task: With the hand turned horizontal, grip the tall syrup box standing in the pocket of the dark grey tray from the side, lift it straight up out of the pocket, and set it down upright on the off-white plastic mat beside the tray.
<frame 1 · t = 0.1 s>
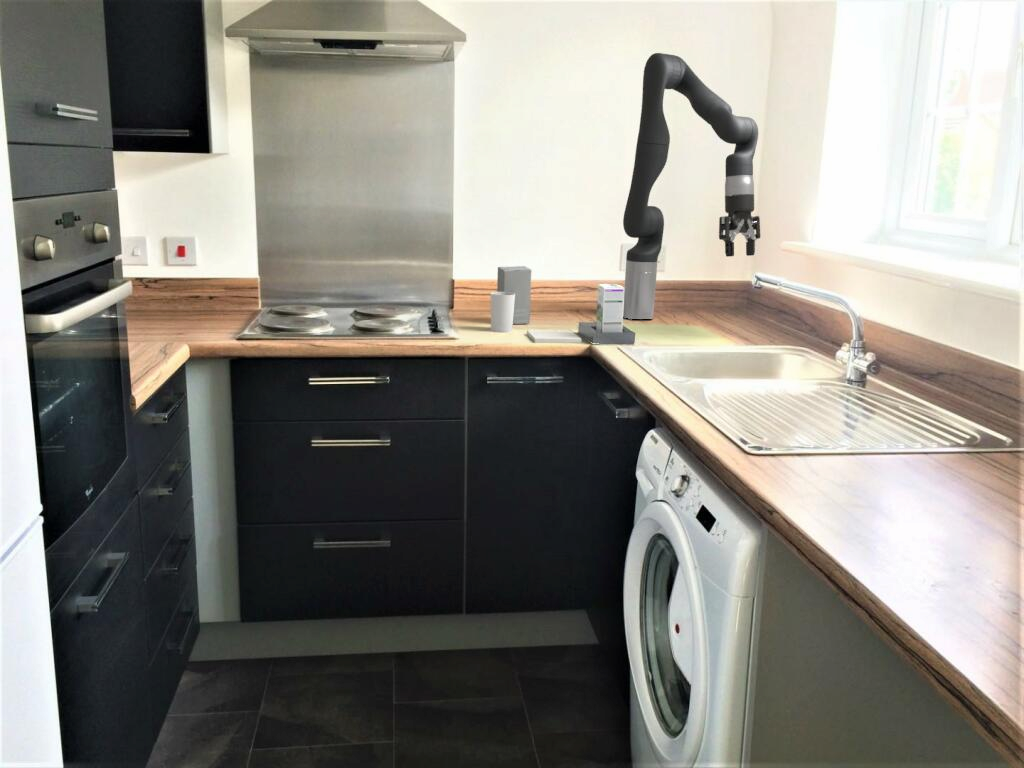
hand: (740, 255, 249), 22 cm above the worktop, tool pointing down, fingers open, 8 cm apart
syrup box: (608, 341, 243), resting in dark grey tray
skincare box: (512, 323, 264), on the worktop
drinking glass: (501, 331, 252), on the worktop
off-white mat: (553, 338, 244), on the worktop
dark grey tray: (605, 338, 246), on the worktop
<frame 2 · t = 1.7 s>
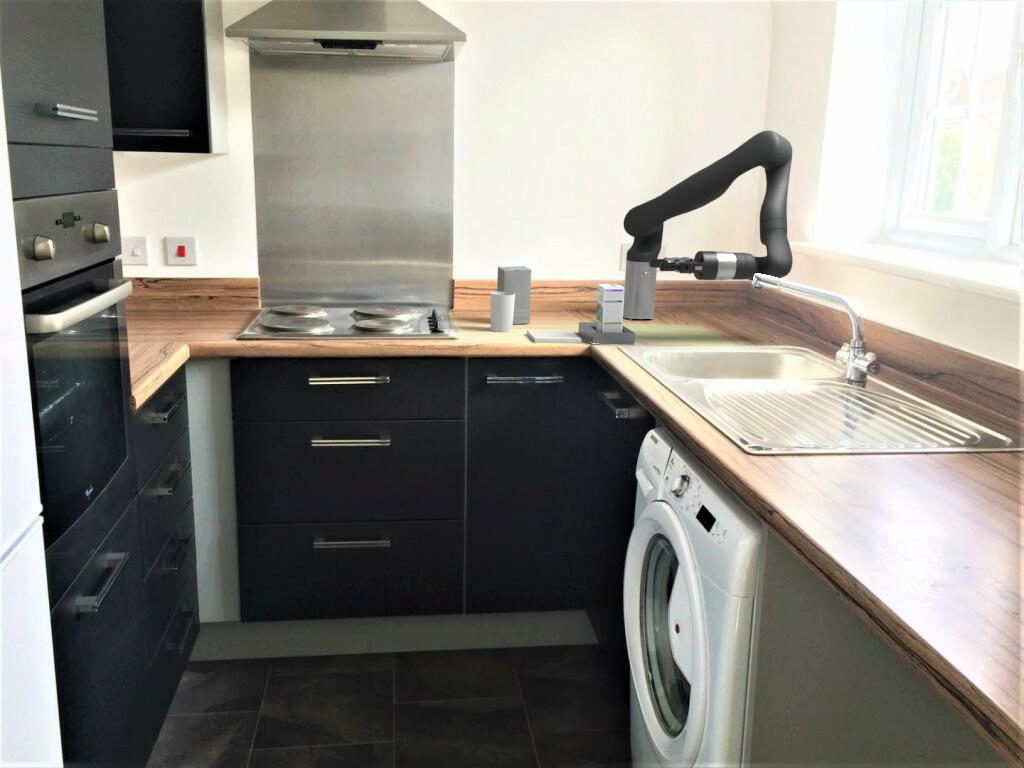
hand: (654, 264, 241), 20 cm above the worktop, tool horizontal, fingers open, 8 cm apart
nothing on the worktop moved.
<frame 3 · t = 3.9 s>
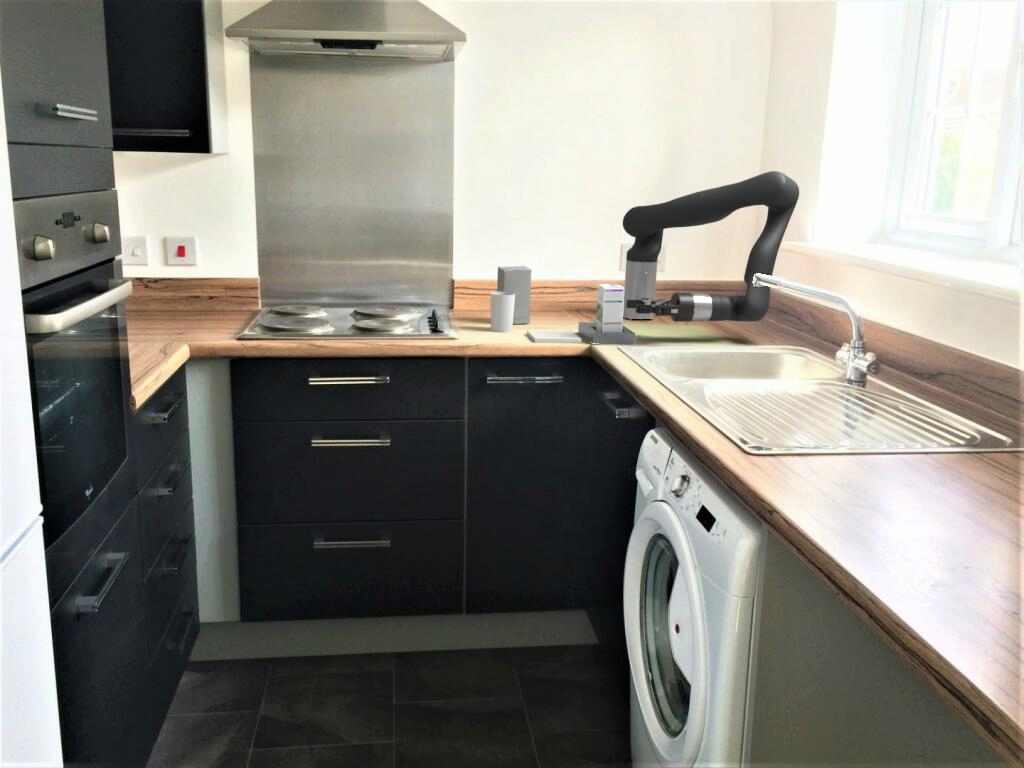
hand: (631, 306, 242), 9 cm above the worktop, tool horizontal, fingers open, 8 cm apart
nothing on the worktop moved.
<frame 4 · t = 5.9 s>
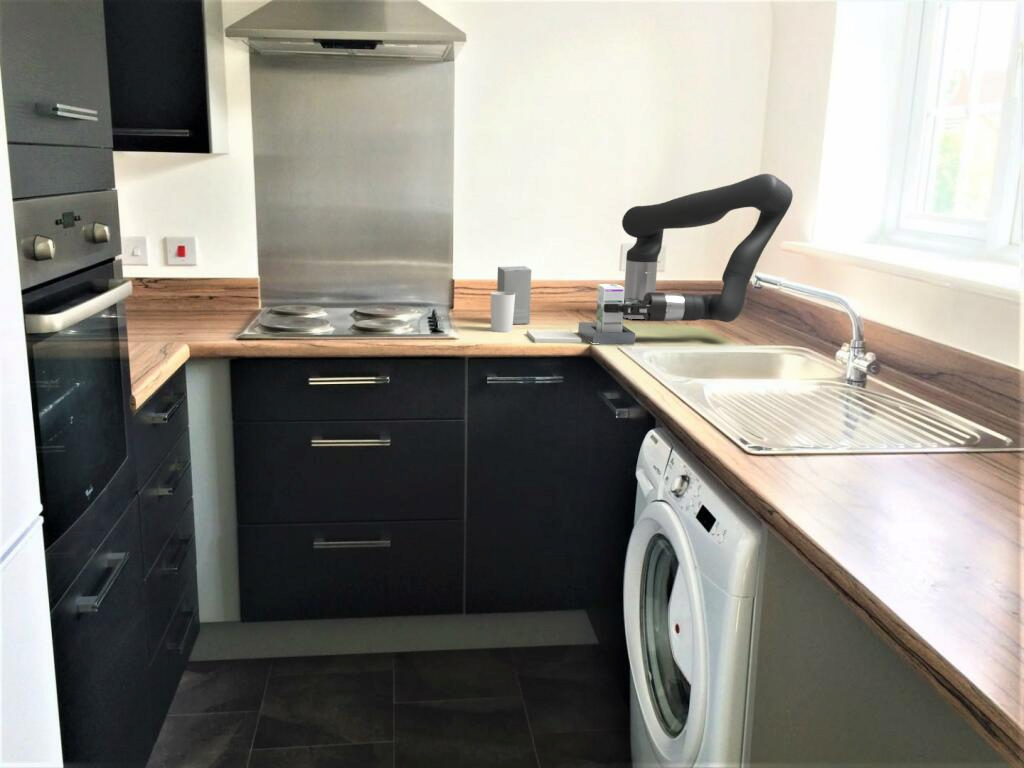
hand: (601, 306, 241), 9 cm above the worktop, tool horizontal, fingers closed on syrup box, 6 cm apart
syrup box: (608, 341, 243), resting in dark grey tray, touching gripper
everything else where it was.
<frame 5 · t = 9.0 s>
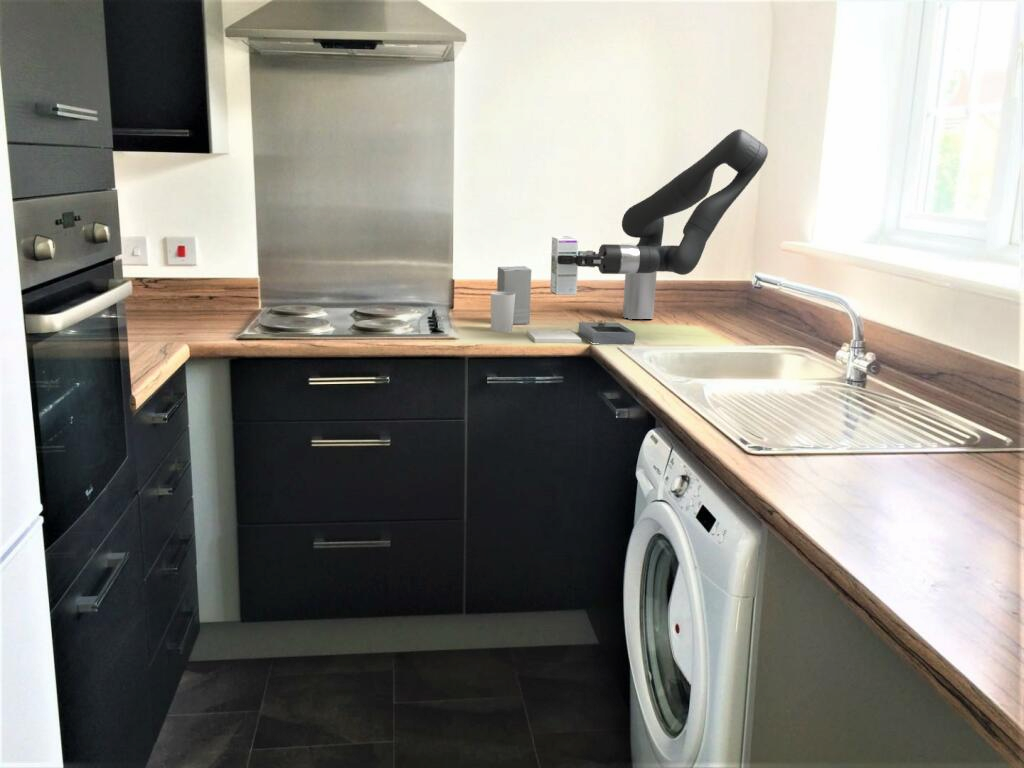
hand: (555, 258, 238), 21 cm above the worktop, tool horizontal, fingers closed on syrup box, 6 cm apart
syrup box: (563, 294, 240), point 12 cm above the worktop, touching gripper
everything else where it was.
when the fingers open (11 cm above the worktop, at t = 12.0 s): syrup box stays where it is, resting on off-white mat.
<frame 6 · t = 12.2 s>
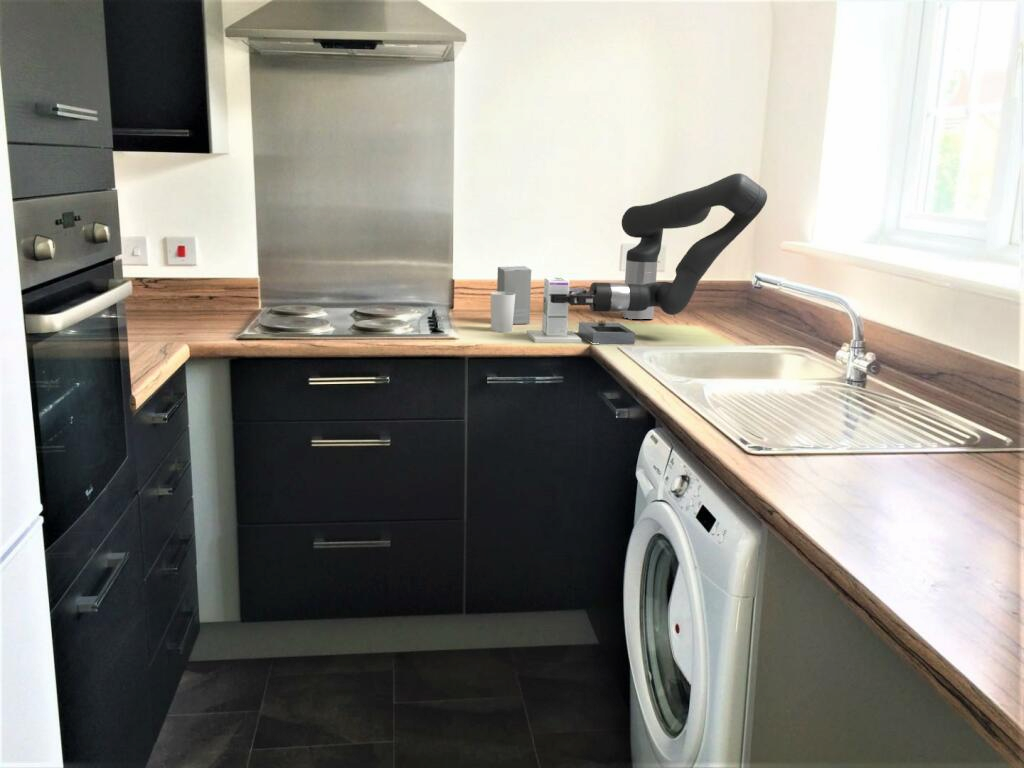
hand: (547, 296, 241), 11 cm above the worktop, tool horizontal, fingers open, 7 cm apart
syrup box: (554, 335, 243), point 1 cm above the worktop, touching off-white mat
everything else where it was.
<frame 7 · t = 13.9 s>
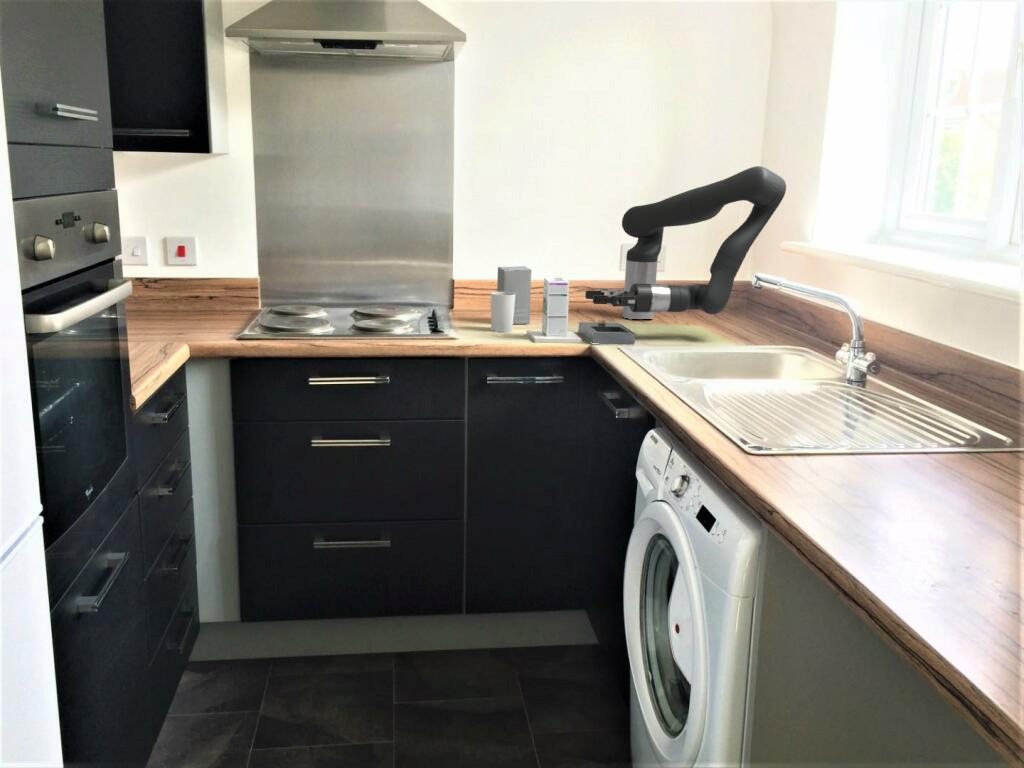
hand: (589, 297, 243), 11 cm above the worktop, tool horizontal, fingers open, 8 cm apart
nothing on the worktop moved.
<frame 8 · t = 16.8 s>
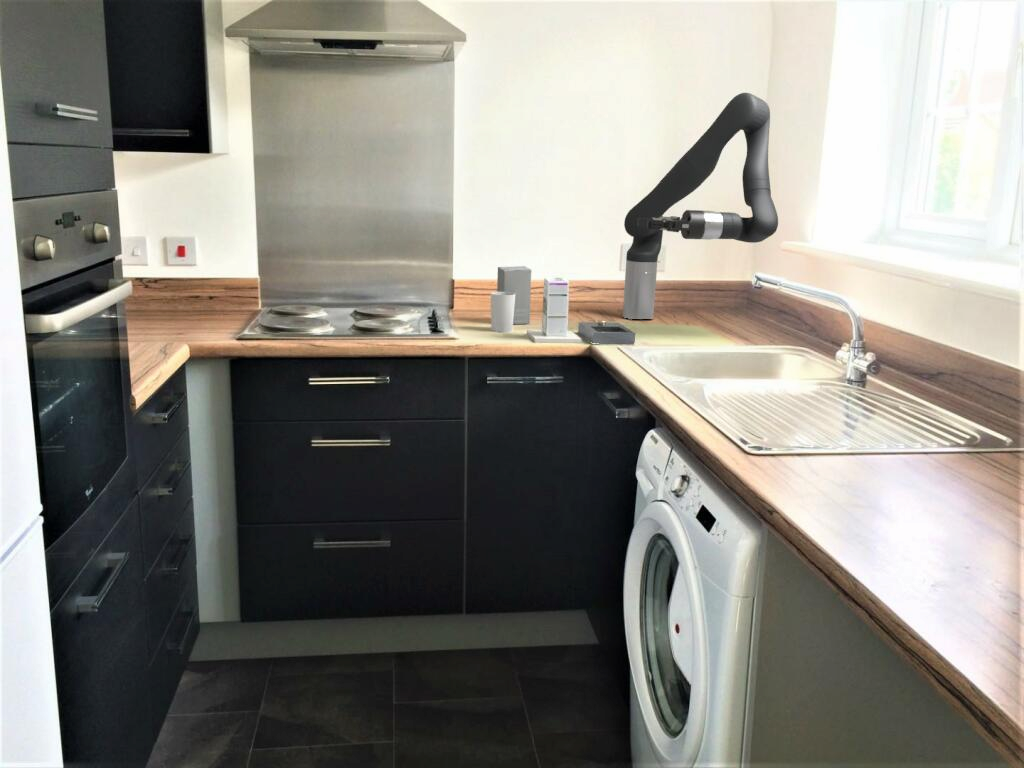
hand: (642, 223, 244), 30 cm above the worktop, tool horizontal, fingers open, 8 cm apart
nothing on the worktop moved.
at the end: syrup box inside the target area on the off-white mat (0.1 cm from its centre), point 0.8 cm above the off-white mat's base; syrup box tilted 0°; the gripper is holding nothing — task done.
